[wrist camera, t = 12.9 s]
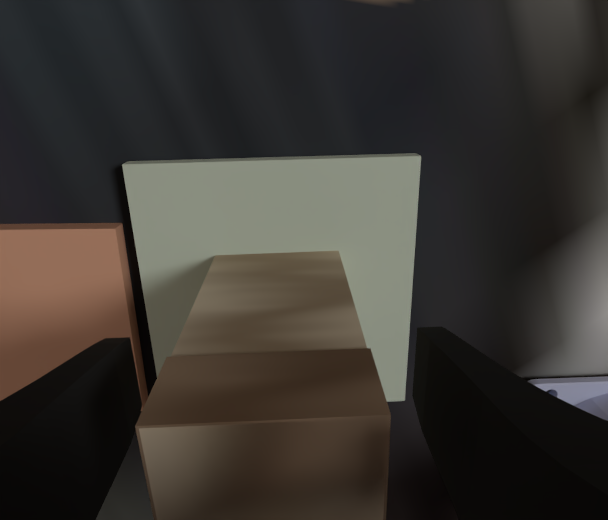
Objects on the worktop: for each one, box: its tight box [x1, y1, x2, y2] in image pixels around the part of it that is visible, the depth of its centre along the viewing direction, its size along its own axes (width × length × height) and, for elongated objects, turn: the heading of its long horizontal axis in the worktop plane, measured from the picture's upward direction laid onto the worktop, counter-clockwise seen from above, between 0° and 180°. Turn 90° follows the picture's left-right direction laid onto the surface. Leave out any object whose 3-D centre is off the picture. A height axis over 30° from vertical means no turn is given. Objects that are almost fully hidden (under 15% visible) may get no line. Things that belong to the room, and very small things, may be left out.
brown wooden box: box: [135, 251, 391, 520], centre depth 12 cm, size 4×2×8 cm, turn 92°
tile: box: [0, 223, 148, 411], centre depth 16 cm, size 6×1×7 cm
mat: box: [122, 153, 421, 401], centre depth 16 cm, size 9×9×1 cm
